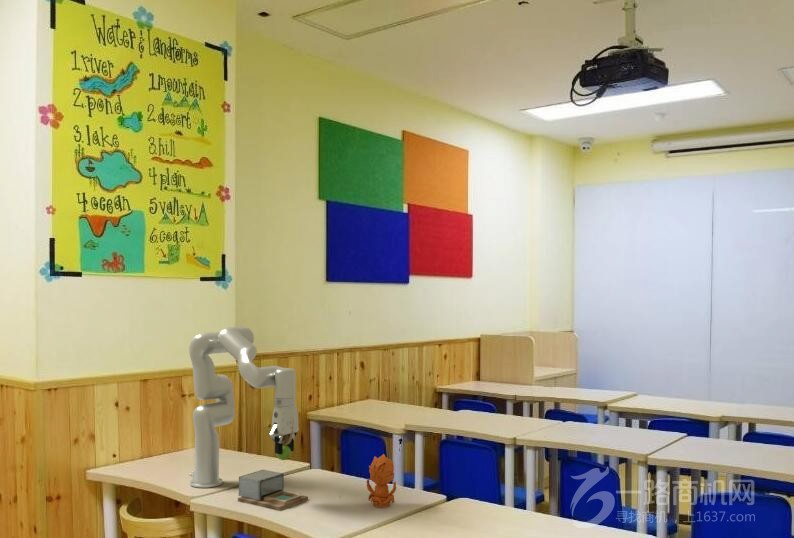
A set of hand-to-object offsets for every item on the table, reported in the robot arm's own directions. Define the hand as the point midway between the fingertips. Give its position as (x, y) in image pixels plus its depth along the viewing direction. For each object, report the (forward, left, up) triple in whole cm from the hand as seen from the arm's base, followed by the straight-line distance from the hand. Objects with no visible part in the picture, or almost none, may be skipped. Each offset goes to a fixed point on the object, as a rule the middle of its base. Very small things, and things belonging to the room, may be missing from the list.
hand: (284, 451), depth 267 cm
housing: (-11, 0, -17) cm, 20 cm away
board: (-5, 0, -18) cm, 19 cm away
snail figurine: (0, 0, -3) cm, 3 cm away
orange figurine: (+31, +18, -19) cm, 40 cm away
